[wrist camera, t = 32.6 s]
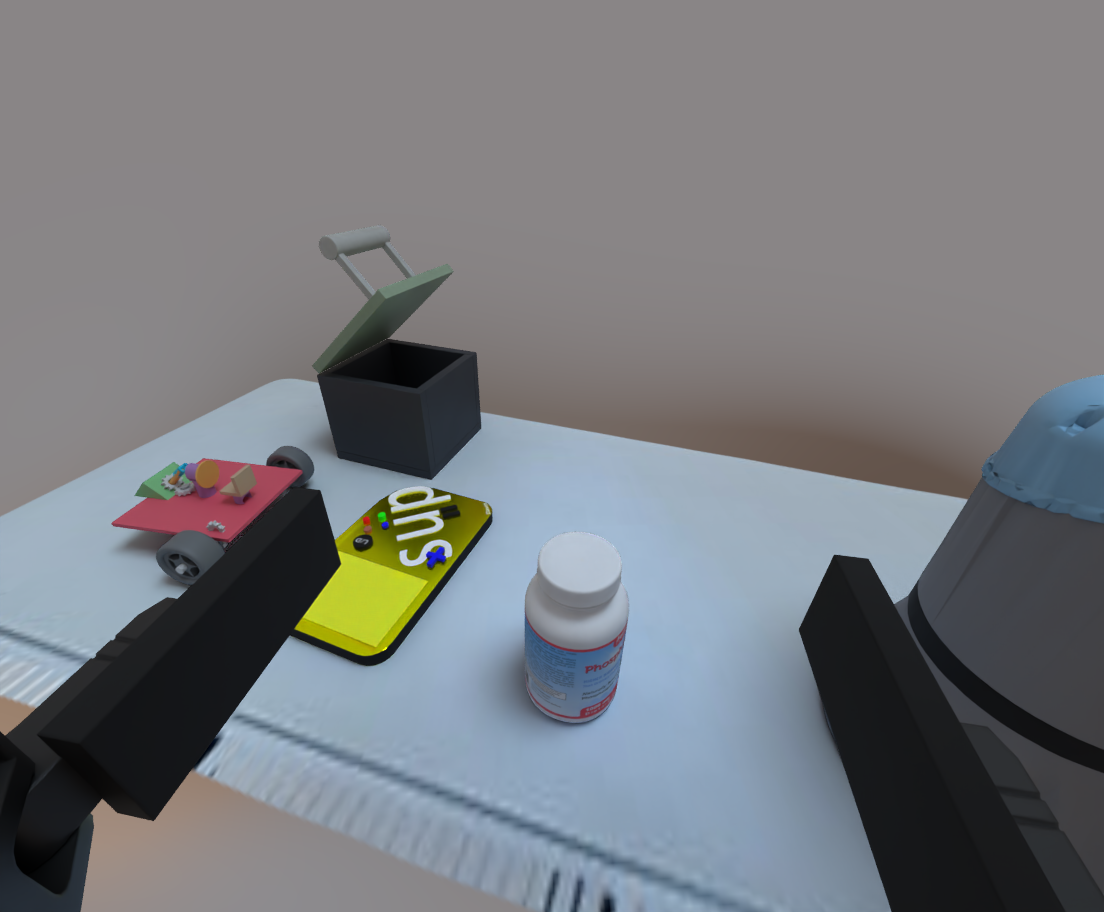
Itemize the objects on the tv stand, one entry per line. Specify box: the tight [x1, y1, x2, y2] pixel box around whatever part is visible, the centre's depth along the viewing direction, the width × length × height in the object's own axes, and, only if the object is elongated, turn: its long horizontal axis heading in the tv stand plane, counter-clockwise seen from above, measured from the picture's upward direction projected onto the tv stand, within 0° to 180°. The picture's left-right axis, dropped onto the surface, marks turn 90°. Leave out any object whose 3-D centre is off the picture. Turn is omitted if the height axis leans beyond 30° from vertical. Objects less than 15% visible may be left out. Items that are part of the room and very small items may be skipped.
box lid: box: [312, 225, 453, 373], centre depth 49 cm, size 13×12×8 cm
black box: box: [317, 339, 481, 479], centre depth 55 cm, size 12×12×10 cm
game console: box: [290, 486, 492, 666], centre depth 40 cm, size 18×11×2 cm, turn 160°
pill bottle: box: [525, 532, 629, 723], centre depth 29 cm, size 6×6×11 cm
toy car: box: [112, 446, 314, 585], centre depth 43 cm, size 15×12×7 cm
